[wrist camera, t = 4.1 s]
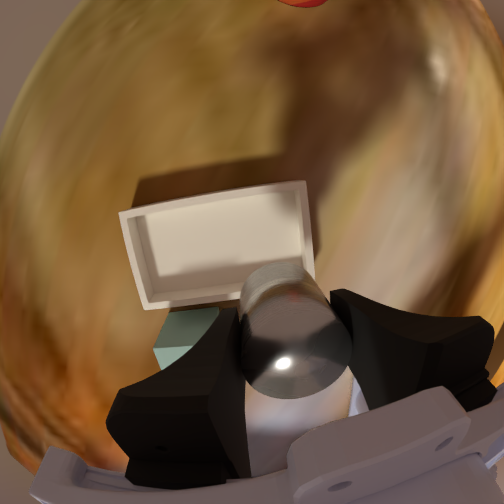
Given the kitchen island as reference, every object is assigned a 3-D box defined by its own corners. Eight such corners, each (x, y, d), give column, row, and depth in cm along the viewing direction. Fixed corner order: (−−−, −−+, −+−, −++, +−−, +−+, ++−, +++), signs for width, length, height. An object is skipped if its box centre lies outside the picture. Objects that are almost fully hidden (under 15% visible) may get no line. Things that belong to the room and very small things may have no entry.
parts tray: (298, 179, 18) (305, 180, 16) (307, 275, 20) (315, 286, 18) (130, 208, 18) (118, 212, 16) (152, 297, 20) (144, 310, 18)
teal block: (218, 306, 21) (213, 343, 16) (227, 347, 22) (226, 388, 17) (169, 312, 21) (153, 348, 16) (182, 352, 22) (171, 392, 17)
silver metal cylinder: (314, 255, 13) (352, 300, 8) (319, 324, 14) (350, 385, 10) (232, 270, 13) (230, 324, 8) (247, 338, 14) (251, 406, 10)
